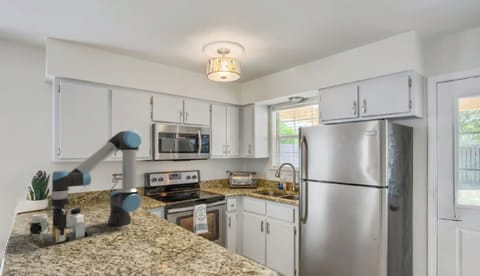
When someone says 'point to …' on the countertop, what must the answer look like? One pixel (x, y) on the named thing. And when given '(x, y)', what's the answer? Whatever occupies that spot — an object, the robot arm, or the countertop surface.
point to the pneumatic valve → (38, 228)
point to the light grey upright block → (78, 229)
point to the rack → (69, 237)
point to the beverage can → (40, 216)
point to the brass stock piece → (55, 233)
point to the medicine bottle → (74, 217)
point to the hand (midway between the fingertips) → (59, 239)
